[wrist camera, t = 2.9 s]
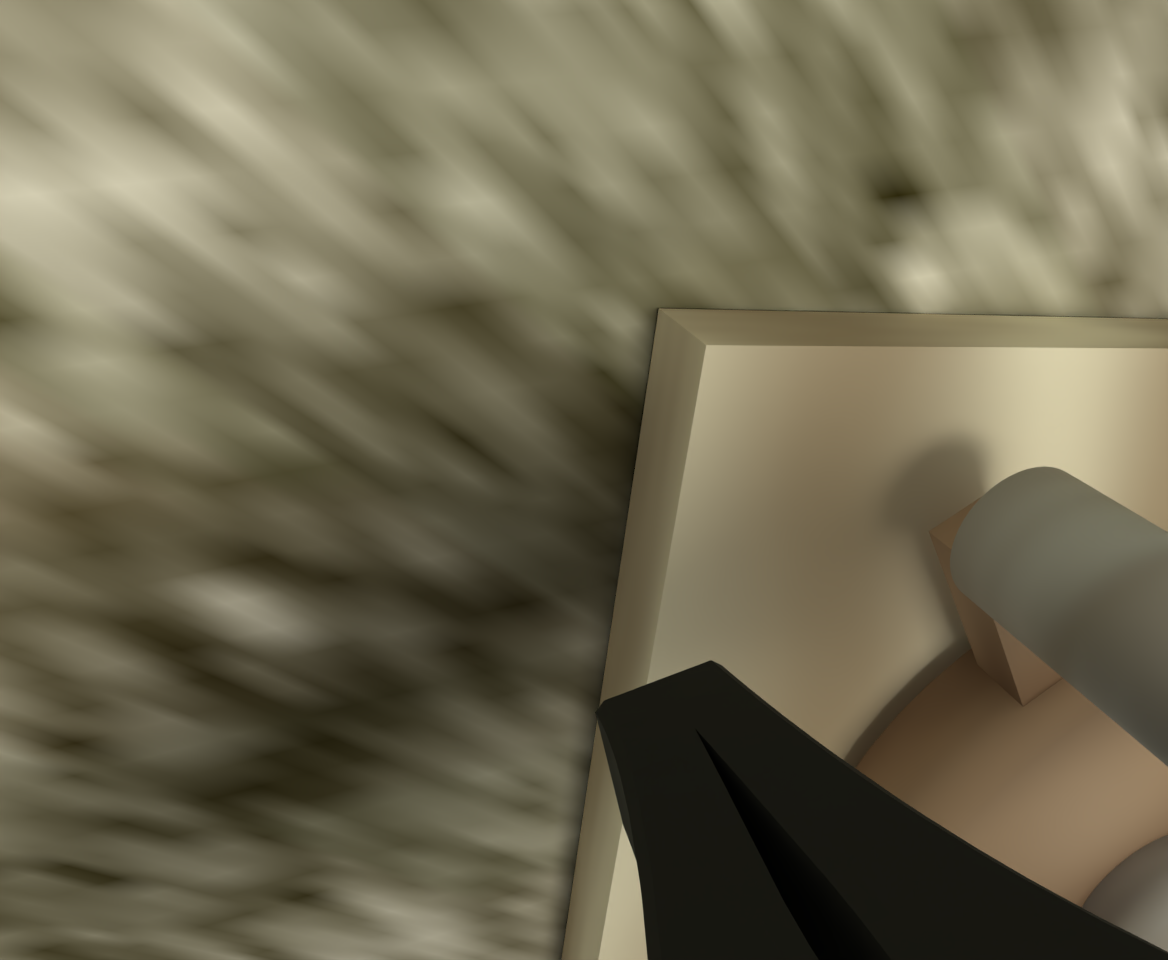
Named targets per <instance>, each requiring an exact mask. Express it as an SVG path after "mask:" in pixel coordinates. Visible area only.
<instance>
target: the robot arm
mask: <svg viewBox="0 0 1168 960" xmlns="http://www.w3.org/2000/svg"><path fill="white" fill-rule="evenodd" d="M595 713H596V717H597V721H598V725H599V729H600V733H601V737H602V741H603V745H604V749H605V753H606V758H607V762H608V766H609V770H610V774H611V778H612V782H613V786H614V790H615V794H616V798H617V802H618V806H619V810H620V814H621V818H622V823H623V826H624V829H625V832H626V834H627V837H628V839H629V842H630V845H631V847H632V850H633V853H634V856H635V859H636V862H637V867H638V874H639V880H640V888H641V896H642V905H643V916H644V926H645V937H646V948H647V958H648V960H1168V952H1167V951H1165V950H1163V949H1161V948H1159V947H1157V946H1156V945H1154V944H1152V943H1150V942H1148V941H1146V940H1144V939H1142V938H1140V937H1138V936H1136V935H1134V934H1132V933H1130V932H1128V931H1126V930H1124V929H1122V928H1120V927H1118V926H1116V925H1114V924H1112V923H1110V922H1108V921H1106V920H1104V919H1102V918H1100V917H1098V916H1096V915H1095V914H1093V913H1091V912H1089V911H1087V910H1085V909H1084V908H1082V907H1080V906H1078V905H1076V904H1074V903H1072V902H1071V901H1069V900H1067V899H1065V898H1063V897H1061V896H1060V895H1058V894H1056V893H1054V892H1052V891H1050V890H1049V889H1047V888H1045V887H1043V886H1041V885H1039V884H1038V883H1036V882H1034V881H1032V880H1031V879H1029V878H1027V877H1025V876H1024V875H1022V874H1020V873H1018V872H1017V871H1015V870H1013V869H1011V868H1010V867H1008V866H1006V865H1005V864H1003V863H1001V862H999V861H998V860H996V859H994V858H993V857H991V856H989V855H988V854H986V853H984V852H983V851H981V850H979V849H978V848H976V847H974V846H973V845H971V844H970V843H968V842H966V841H965V840H963V839H962V838H960V837H958V836H957V835H955V834H954V833H952V832H950V831H949V830H947V829H946V828H944V827H942V826H941V825H939V824H938V823H936V822H934V821H933V820H931V819H930V818H928V817H926V816H925V815H923V814H922V813H920V812H919V811H917V810H916V809H914V808H913V807H911V806H910V805H908V804H907V803H905V802H904V801H902V800H901V799H899V798H898V797H896V796H895V795H893V794H892V793H890V792H889V791H887V790H886V789H884V788H883V787H882V786H880V785H879V784H877V783H876V782H874V781H873V780H871V779H870V778H869V777H867V776H866V775H864V774H863V773H861V772H860V771H859V770H857V769H856V768H854V767H853V766H851V765H850V764H848V763H847V762H846V761H844V760H843V759H841V758H840V757H838V756H837V755H836V754H834V753H833V752H832V751H830V750H829V749H827V748H826V747H825V746H823V745H822V744H821V743H819V742H818V741H817V740H815V739H814V738H812V737H811V736H810V735H809V734H807V733H806V732H805V731H803V730H802V729H801V728H799V727H798V726H797V725H795V724H794V723H793V722H791V721H790V720H789V719H788V718H786V717H785V716H784V715H782V714H781V713H780V712H778V711H777V710H776V709H775V708H773V707H772V706H771V705H770V704H768V703H767V702H766V701H765V700H763V699H762V698H761V697H760V696H758V695H757V694H756V693H755V692H753V691H752V690H751V689H750V688H748V687H747V686H746V685H745V684H744V683H742V682H741V681H740V680H739V679H738V678H736V677H735V676H734V675H733V674H732V673H730V672H729V671H728V670H727V669H726V668H725V667H723V666H722V665H721V664H718V663H716V662H714V661H712V660H710V661H707V662H705V663H702V664H699V665H697V666H694V667H691V668H689V669H686V670H683V671H681V672H678V673H675V674H673V675H670V676H667V677H665V678H662V679H659V680H657V681H654V682H652V683H649V684H646V685H644V686H641V687H638V688H636V689H633V690H630V691H628V692H625V693H622V694H620V695H617V696H614V697H612V698H609V699H607V700H604V701H603V702H602V704H601V705H600V707H599V708H598V709H597V711H596V712H595Z"/></svg>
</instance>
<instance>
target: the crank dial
mask: <svg viewBox="0 0 1168 960" xmlns="http://www.w3.org/2000/svg"><path fill="white" fill-rule="evenodd" d="M929 534H930V537H931V540H932V542H933V545H934V548H935V550H936V553H937V556H938V559H939V561H940V564H941V567H942V569H943V572H944V575H945V578H946V580H947V583H948V586H949V588H950V591H951V594H952V597H953V599H954V602H955V605H956V607H957V610H958V613H959V616H960V618H961V621H962V624H963V626H964V629H965V632H966V635H967V637H968V640H969V643H970V645H971V649H970V650H969V651H967V652H966V653H964V654H963V655H962V656H961V657H960V658H958V659H957V660H956V661H955V662H954V663H953V664H951V665H950V666H949V667H948V668H947V669H946V670H944V671H943V672H942V673H941V674H940V675H938V676H937V677H936V678H935V679H934V680H933V681H931V682H930V683H929V684H928V685H927V686H926V687H925V688H924V689H923V690H922V691H921V692H920V693H919V694H918V695H917V696H916V697H915V698H914V699H913V700H912V701H911V702H910V703H909V704H908V705H907V706H906V707H905V708H904V709H903V710H902V711H901V712H900V713H899V714H898V715H897V716H896V717H895V719H894V720H893V721H892V722H891V723H890V725H889V726H888V727H887V728H886V729H885V730H884V732H883V733H882V734H881V735H880V736H879V738H878V739H877V740H876V741H875V742H874V744H873V745H872V746H871V747H870V748H869V750H868V751H867V752H866V754H865V755H864V757H863V758H862V760H861V761H860V762H859V764H858V765H857V767H856V769H857V770H859V771H860V772H861V773H863V774H864V775H866V776H867V777H869V778H870V779H871V780H873V781H874V782H876V783H877V784H879V785H880V786H882V787H883V788H884V789H886V790H887V791H889V792H890V793H892V794H893V795H895V796H896V797H898V798H899V799H901V800H902V801H904V802H905V803H907V804H908V805H910V806H911V807H913V808H914V809H916V810H917V811H919V812H920V813H922V814H923V815H925V816H926V817H928V818H930V819H931V820H933V821H934V822H936V823H938V824H939V825H941V826H942V827H944V828H946V829H947V830H949V831H950V832H952V833H954V834H955V835H957V836H958V837H960V838H962V839H963V840H965V841H966V842H968V843H970V844H971V845H973V846H974V847H976V848H978V849H979V850H981V851H983V852H984V853H986V854H988V855H989V856H991V857H993V858H994V859H996V860H998V861H999V862H1001V863H1003V864H1005V865H1006V866H1008V867H1010V868H1011V869H1013V870H1015V871H1017V872H1018V873H1020V874H1022V875H1024V876H1025V877H1027V878H1029V879H1031V880H1032V881H1034V882H1036V883H1038V884H1039V885H1041V886H1043V887H1045V888H1047V889H1049V890H1050V891H1052V892H1054V893H1056V894H1058V895H1060V896H1061V897H1063V898H1065V899H1067V900H1069V901H1071V902H1072V903H1074V904H1076V905H1078V906H1080V907H1082V908H1084V909H1085V910H1087V911H1089V912H1091V913H1093V914H1095V915H1096V916H1098V917H1100V918H1102V919H1104V920H1106V921H1108V922H1110V923H1112V924H1114V925H1116V926H1118V927H1120V928H1122V929H1124V930H1126V931H1128V932H1130V933H1132V934H1134V935H1136V936H1138V937H1140V938H1142V939H1144V940H1146V941H1148V942H1150V943H1152V944H1154V945H1156V946H1157V947H1159V948H1161V949H1163V950H1165V951H1167V952H1168V532H1167V531H1165V530H1163V529H1162V528H1160V527H1158V526H1157V525H1155V524H1153V523H1152V522H1150V521H1148V520H1147V519H1145V518H1143V517H1141V516H1140V515H1138V514H1136V513H1135V512H1133V511H1131V510H1130V509H1128V508H1126V507H1125V506H1123V505H1121V504H1119V503H1118V502H1116V501H1114V500H1113V499H1111V498H1109V497H1108V496H1106V495H1104V494H1103V493H1101V492H1099V491H1097V490H1096V489H1094V488H1092V487H1091V486H1089V485H1087V484H1086V483H1084V482H1082V481H1081V480H1079V479H1077V478H1075V477H1074V476H1072V475H1070V474H1069V473H1067V472H1065V471H1063V470H1061V469H1058V468H1054V467H1046V466H1044V467H1034V468H1029V469H1026V470H1023V471H1020V472H1018V473H1015V474H1013V475H1011V476H1009V477H1007V478H1006V479H1004V480H1002V481H1001V482H999V483H998V484H997V485H995V486H994V487H992V488H991V489H990V490H989V491H988V492H987V493H985V494H984V495H983V496H982V497H980V498H979V499H977V500H976V501H974V502H973V503H971V504H969V505H968V506H966V507H965V508H963V509H962V510H960V511H959V512H957V513H956V514H954V515H953V516H951V517H950V518H948V519H947V520H945V521H944V522H942V523H941V524H939V525H938V526H936V527H934V528H933V529H931V530H930V531H929Z"/></svg>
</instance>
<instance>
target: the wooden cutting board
mask: <svg viewBox="0 0 1168 960" xmlns="http://www.w3.org/2000/svg"><path fill="white" fill-rule="evenodd" d="M1044 466H1046V467H1054V468H1058V469H1061V470H1063V471H1065V472H1067V473H1069V474H1070V475H1072V476H1074V477H1075V478H1077V479H1079V480H1081V481H1082V482H1084V483H1086V484H1087V485H1089V486H1091V487H1092V488H1094V489H1096V490H1097V491H1099V492H1101V493H1103V494H1104V495H1106V496H1108V497H1109V498H1111V499H1113V500H1114V501H1116V502H1118V503H1119V504H1121V505H1123V506H1125V507H1126V508H1128V509H1130V510H1131V511H1133V512H1135V513H1136V514H1138V515H1140V516H1141V517H1143V518H1145V519H1147V520H1148V521H1150V522H1152V523H1153V524H1155V525H1157V526H1158V527H1160V528H1162V529H1163V530H1165V531H1167V532H1168V319H1141V318H1094V317H1046V316H998V315H950V314H902V313H855V312H807V311H759V310H711V309H664V308H659V311H658V317H657V324H656V331H655V337H654V344H653V351H652V358H651V364H650V371H649V378H648V384H647V391H646V398H645V404H644V411H643V418H642V424H641V431H640V438H639V444H638V451H637V458H636V464H635V471H634V478H633V485H632V491H631V498H630V505H629V511H628V518H627V525H626V531H625V538H624V545H623V551H622V558H621V565H620V571H619V578H618V585H617V591H616V598H615V605H614V612H613V618H612V625H611V632H610V638H609V645H608V652H607V658H606V665H605V672H604V678H603V685H602V692H601V698H600V705H601V704H602V702H603V701H604V700H607V699H609V698H612V697H614V696H617V695H620V694H622V693H625V692H628V691H630V690H633V689H636V688H638V687H641V686H644V685H646V684H649V683H652V682H654V681H657V680H659V679H662V678H665V677H667V676H670V675H673V674H675V673H678V672H681V671H683V670H686V669H689V668H691V667H694V666H697V665H699V664H702V663H705V662H707V661H710V660H712V661H714V662H716V663H718V664H721V665H722V666H723V667H725V668H726V669H727V670H728V671H729V672H730V673H732V674H733V675H734V676H735V677H736V678H738V679H739V680H740V681H741V682H742V683H744V684H745V685H746V686H747V687H748V688H750V689H751V690H752V691H753V692H755V693H756V694H757V695H758V696H760V697H761V698H762V699H763V700H765V701H766V702H767V703H768V704H770V705H771V706H772V707H773V708H775V709H776V710H777V711H778V712H780V713H781V714H782V715H784V716H785V717H786V718H788V719H789V720H790V721H791V722H793V723H794V724H795V725H797V726H798V727H799V728H801V729H802V730H803V731H805V732H806V733H807V734H809V735H810V736H811V737H812V738H814V739H815V740H817V741H818V742H819V743H821V744H822V745H823V746H825V747H826V748H827V749H829V750H830V751H832V752H833V753H834V754H836V755H837V756H838V757H840V758H841V759H843V760H844V761H846V762H847V763H848V764H850V765H851V766H853V767H854V768H856V767H857V765H858V764H859V762H860V761H861V760H862V758H863V757H864V755H865V754H866V752H867V751H868V750H869V748H870V747H871V746H872V745H873V744H874V742H875V741H876V740H877V739H878V738H879V736H880V735H881V734H882V733H883V732H884V730H885V729H886V728H887V727H888V726H889V725H890V723H891V722H892V721H893V720H894V719H895V717H896V716H897V715H898V714H899V713H900V712H901V711H902V710H903V709H904V708H905V707H906V706H907V705H908V704H909V703H910V702H911V701H912V700H913V699H914V698H915V697H916V696H917V695H918V694H919V693H920V692H921V691H922V690H923V689H924V688H925V687H926V686H927V685H928V684H929V683H930V682H931V681H933V680H934V679H935V678H936V677H937V676H938V675H940V674H941V673H942V672H943V671H944V670H946V669H947V668H948V667H949V666H950V665H951V664H953V663H954V662H955V661H956V660H957V659H958V658H960V657H961V656H962V655H963V654H964V653H966V652H967V651H969V650H970V649H971V645H970V643H969V640H968V637H967V635H966V632H965V629H964V626H963V624H962V621H961V618H960V616H959V613H958V610H957V607H956V605H955V602H954V599H953V597H952V594H951V591H950V588H949V586H948V583H947V580H946V578H945V575H944V572H943V569H942V567H941V564H940V561H939V559H938V556H937V553H936V550H935V548H934V545H933V542H932V540H931V537H930V534H929V531H930V530H931V529H933V528H934V527H936V526H938V525H939V524H941V523H942V522H944V521H945V520H947V519H948V518H950V517H951V516H953V515H954V514H956V513H957V512H959V511H960V510H962V509H963V508H965V507H966V506H968V505H969V504H971V503H973V502H974V501H976V500H977V499H979V498H980V497H982V496H983V495H984V494H985V493H987V492H988V491H989V490H990V489H991V488H992V487H994V486H995V485H997V484H998V483H999V482H1001V481H1002V480H1004V479H1006V478H1007V477H1009V476H1011V475H1013V474H1015V473H1018V472H1020V471H1023V470H1026V469H1029V468H1034V467H1044ZM600 705H599V707H600ZM561 960H648V958H647V948H646V937H645V926H644V916H643V905H642V896H641V888H640V880H639V874H638V867H637V862H636V859H635V856H634V853H633V850H632V847H631V845H630V842H629V839H628V837H627V834H626V832H625V829H624V826H623V823H622V818H621V814H620V810H619V806H618V802H617V798H616V794H615V790H614V786H613V782H612V778H611V774H610V770H609V766H608V762H607V758H606V753H605V749H604V745H603V741H602V737H601V733H600V729H599V725H598V721H597V725H596V732H595V739H594V745H593V752H592V759H591V765H590V772H589V779H588V785H587V792H586V799H585V805H584V812H583V819H582V825H581V832H580V839H579V846H578V852H577V859H576V866H575V872H574V879H573V886H572V892H571V899H570V906H569V912H568V919H567V926H566V932H565V939H564V946H563V952H562V959H561Z"/></svg>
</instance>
